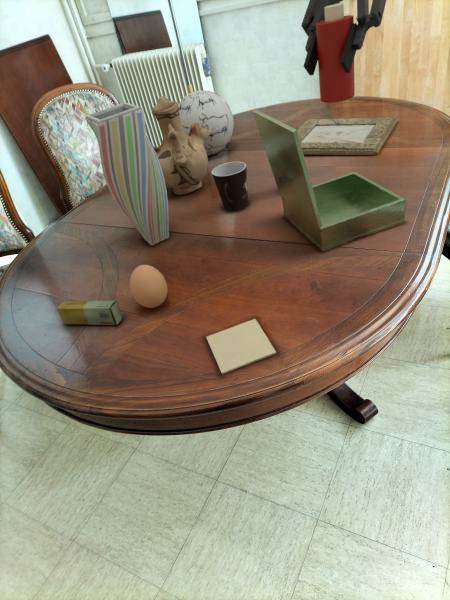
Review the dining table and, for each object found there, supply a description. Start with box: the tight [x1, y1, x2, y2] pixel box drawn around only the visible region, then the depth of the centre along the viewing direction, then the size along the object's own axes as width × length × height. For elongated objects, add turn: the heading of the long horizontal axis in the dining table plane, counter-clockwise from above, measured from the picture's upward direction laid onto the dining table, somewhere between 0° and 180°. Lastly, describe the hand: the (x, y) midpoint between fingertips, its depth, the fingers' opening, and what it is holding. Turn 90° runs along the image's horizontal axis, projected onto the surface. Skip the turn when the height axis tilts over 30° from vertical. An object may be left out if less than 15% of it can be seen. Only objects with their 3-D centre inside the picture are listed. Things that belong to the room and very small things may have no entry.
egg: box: [129, 264, 168, 309], centre depth 78 cm, size 7×7×9 cm
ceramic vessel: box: [151, 95, 212, 196], centre depth 116 cm, size 18×19×25 cm
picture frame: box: [296, 116, 398, 156], centre depth 130 cm, size 27×30×3 cm
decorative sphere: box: [178, 89, 235, 157], centre depth 138 cm, size 20×20×20 cm
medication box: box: [56, 300, 124, 326], centre depth 80 cm, size 12×3×4 cm, turn 78°
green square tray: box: [281, 171, 406, 253], centre depth 90 cm, size 19×19×5 cm
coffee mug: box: [211, 161, 249, 213], centre depth 104 cm, size 12×9×10 cm
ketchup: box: [316, 2, 356, 104], centre depth 72 cm, size 6×6×14 cm
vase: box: [84, 101, 170, 246], centre depth 94 cm, size 14×14×30 cm
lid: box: [252, 109, 322, 227], centre depth 81 cm, size 19×19×1 cm
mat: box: [205, 318, 277, 375], centre depth 67 cm, size 9×9×1 cm
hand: (326, 69), depth 70 cm, fingers closed on ketchup, 6 cm apart
